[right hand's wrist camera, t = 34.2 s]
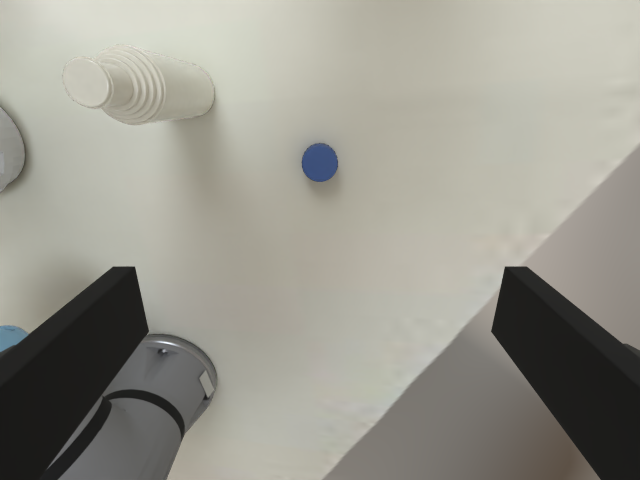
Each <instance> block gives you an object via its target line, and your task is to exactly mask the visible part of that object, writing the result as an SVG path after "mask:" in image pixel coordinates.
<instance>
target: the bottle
mask: <svg viewBox="0 0 640 480" xmlns="http://www.w3.org/2000/svg"><path fill="white" fill-rule="evenodd" d="M62 78H63V85H64V88H65V90H66V92H67V94H68V96H69V97H70V98H71V99H72V100H73V101H74V100H75V101H76V102H77V103H79V104H81V105H83V106H86V107H88V108H93V109H99V108H101V109H102V110H103V111H104V112H105V113H107V114H108V115H109V116H111V117H112V118H114V119H116V120H118V121H120V122H122V123H125V124H129V125H142V124H149V123H157V122H164V121H172V120H179V119H186V118H194V117H199V116H202V115H204V114H205V113H207V112H208V111H209V109H210V108H211V106H212V104H213V102H214V97H215V90H214V85H213V82H212V80H211V78H210V77H209V75H208V74H207V73H206V71H204V70H203V69H202V68H201V67H199V66H197V65H195V64H192V63H189V62H185V61H182V60H178V59H175V58H171V57H168V56H164V55H161V54H157V53H154V52H150V51H147V50H144V49H140V48H137V47H133V46H129V45H123V44H122V45H113V46H110V47H108V48H105V49H103V50H102V51H100V52H99V53H98V54H97V55H96V56H95V57H94V59H92V58H89V57H84V56H82V57H76V58H73V59H71V60H70V61H69V62H68V63H67V64H66V66H65V68H64V69H63V75H62Z"/></svg>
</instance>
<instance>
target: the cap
mask: <svg viewBox="0 0 640 480" xmlns="http://www.w3.org/2000/svg"><path fill="white" fill-rule="evenodd" d="M302 167H303V171H304V173H305V174H306V176H307V177H308V178H310V179H311V180H314V181H317V182H322V181H326V180H328V179H330V178H331V177H332V176H333V175H334V174H335V172H336V170H337V167H338V160H337V155H336V154H335V151H333V149H332V148H331V147H329V145H325V144H320V143H319V144H314V145H311V146H310V147H309V148H307V150H306V152H305V153H304V155H303V160H302Z"/></svg>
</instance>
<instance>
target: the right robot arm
mask: <svg viewBox="0 0 640 480" xmlns="http://www.w3.org/2000/svg"><path fill="white" fill-rule="evenodd" d="M148 332H149V330H148V326H147V321H146V316H145V312H144V307H143V302H142V298H141V293H140V288H139V284H138V279H137V274H136V269H135V267H112V268H111V269H110V270H108V271H107V272H106V273H105V274H104V275H102V276H101V277H100V278H99V279H97V280H96V281H95V282H94V283H92V284H91V285H90V286H89V287H87V288H86V289H85V290H84V291H82V292H81V293H80V294H79V295H77V296H76V297H75V298H74V299H72V300H71V301H70V302H69V303H67V304H66V305H65V306H64V307H62V308H61V309H60V310H59V311H58V312H56V313H55V314H54V315H53V316H51V317H50V318H49V319H48V320H46V321H45V322H44V323H43V324H41V325H40V326H39V327H38V328H36V329H35V330H34V331H33V332H31V333H30V334H28V333H27V332H25V331H24V330H23V329H21V328H19V327H16V326H10V325H6V326H0V480H166V479H167V477H168V474H169V472H170V469H171V467H172V464H173V462H174V459H175V457H176V454H177V452H178V449H179V447H180V444H181V441H182V439H183V437H184V434H185V433H186V432H187V431H188V430H189V428H190V427H191V426H192V425H193V424H194V423H195V421H196V420H197V419H198V418H199V417H200V416H201V415H202V413H203V412H204V411H205V410H206V408H207V407H208V406H209V404H210V403H211V400H212V398H213V395H214V392H215V390H216V385H217V376H216V372H215V369H214V366H213V364H212V362H211V361H210V359H209V358H208V357H207V356H206V355H205V354H204V353H203V352H202V351H201V350H200V349H199V348H198V347H196V346H195V345H193V344H191V343H190V342H188V341H186V340H183V339H181V338H177V337H174V336H169V335H160V334H159V335H147V333H148ZM491 332H492V333H493V335H494V336H495V337H496V339H497V340H498V341H499V343H500V344H501V345H502V347H503V348H504V349H505V351H506V352H507V353H508V355H509V356H510V357H511V359H512V360H513V362H514V363H515V364H516V366H517V367H518V368H519V370H520V371H521V372H522V374H523V375H524V376H525V378H526V379H527V380H528V382H529V383H530V384H531V386H532V387H533V389H534V390H535V391H536V393H537V394H538V395H539V397H540V398H541V399H542V401H543V402H544V403H545V405H546V406H547V407H548V409H549V410H550V411H551V413H552V414H553V415H554V417H555V418H556V420H557V421H558V422H559V424H560V425H561V426H562V428H563V429H564V430H565V432H566V433H567V434H568V436H569V437H570V439H571V440H572V441H573V443H574V444H575V445H576V447H577V448H578V449H579V451H580V452H581V453H582V455H583V456H584V457H585V459H586V460H587V461H588V463H589V464H590V466H591V467H592V468H593V470H594V471H595V472H596V474H597V475H598V476H599V478H600V479H601V480H640V350H638V349H636V348H634V347H632V346H630V345H628V344H622V343H621V342H620V341H618V340H617V339H616V338H615V337H614V336H612V335H611V334H610V333H609V332H607V331H606V330H605V329H604V328H602V327H601V326H600V325H599V324H597V323H596V322H595V321H594V320H592V319H591V318H590V317H589V316H587V315H586V314H585V313H584V312H582V311H581V310H580V309H579V308H577V307H576V306H575V305H574V304H573V303H571V302H570V301H569V300H567V299H566V298H565V297H564V296H563V295H561V294H560V293H559V292H558V291H556V290H555V289H554V288H553V287H551V286H550V285H549V284H548V283H546V282H545V281H544V280H543V279H541V278H540V277H539V276H538V275H536V274H535V273H534V272H533V271H532V270H530V269H529V268H528V267H505V269H504V274H503V279H502V284H501V288H500V293H499V298H498V302H497V307H496V312H495V316H494V321H493V326H492V330H491ZM146 335H147V336H146Z"/></svg>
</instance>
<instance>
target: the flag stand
mask: <svg viewBox="0 0 640 480" xmlns="http://www.w3.org/2000/svg"><path fill="white" fill-rule="evenodd" d="M24 159H25V150H24V144H23V140H22V137H21V135H20V133H19V130H18V128H17V126H16V125H15V124H14V122H13V121H12V119H11V118H10V117H9V115H8V114H7V113H6V112H5V111H4V110H3V109H2V108H1V107H0V192H2V191H3V190H4V188H5V187H6V186H7V184H9V183H11V182H12V181H13V180H14V179H16V178H17V177H18V175H19V174H20V172H21V170H22V168H23V165H24Z"/></svg>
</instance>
